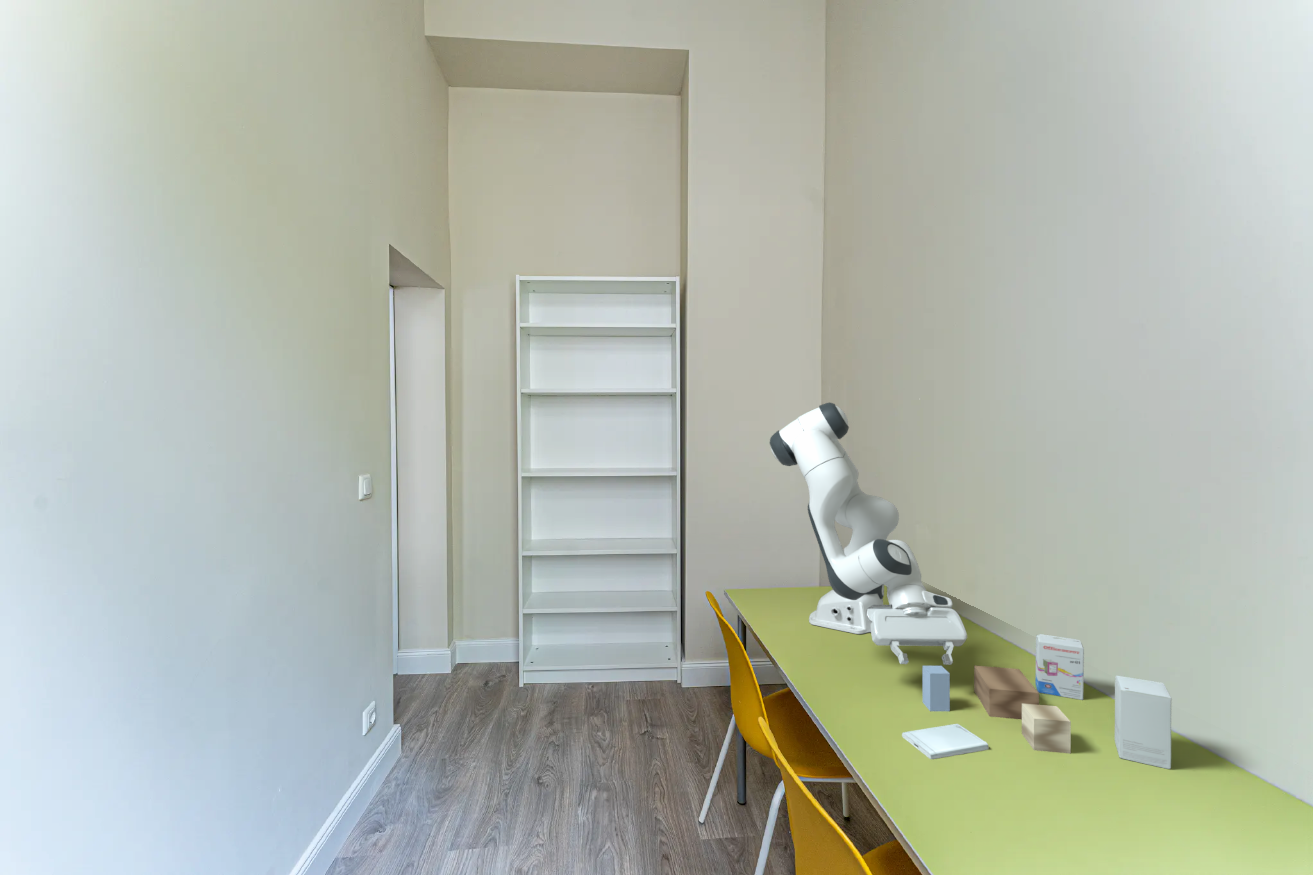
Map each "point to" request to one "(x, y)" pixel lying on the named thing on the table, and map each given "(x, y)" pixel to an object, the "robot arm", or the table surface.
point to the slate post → (936, 688)
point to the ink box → (1059, 666)
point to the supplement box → (1143, 721)
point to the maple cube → (1046, 728)
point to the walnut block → (1003, 691)
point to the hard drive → (945, 741)
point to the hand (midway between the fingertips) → (926, 663)
